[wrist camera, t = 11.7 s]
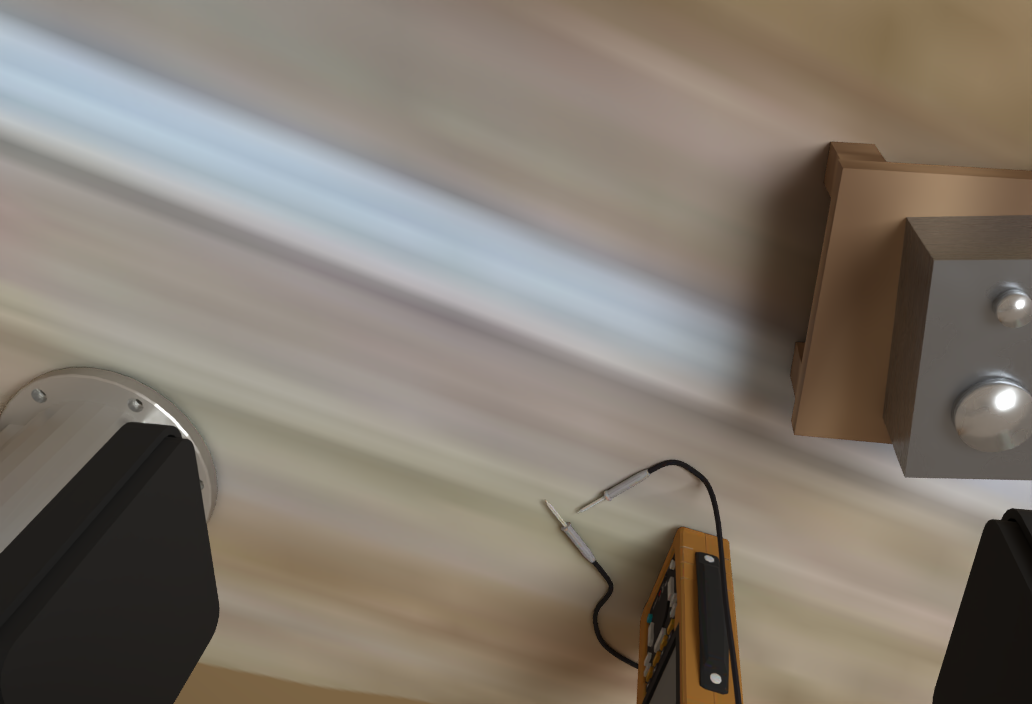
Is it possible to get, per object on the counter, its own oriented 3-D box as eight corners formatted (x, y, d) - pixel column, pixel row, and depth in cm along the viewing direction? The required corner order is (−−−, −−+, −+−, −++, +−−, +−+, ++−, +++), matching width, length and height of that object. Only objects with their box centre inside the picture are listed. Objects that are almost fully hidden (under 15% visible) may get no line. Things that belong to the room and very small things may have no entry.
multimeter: (568, 425, 50) (512, 738, 32) (755, 479, 50) (801, 823, 32) (501, 628, 57) (425, 976, 39) (665, 676, 57) (662, 1047, 39)
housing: (906, 217, 37) (938, 266, 33) (1059, 214, 37) (1113, 265, 32) (882, 417, 41) (908, 486, 37) (1019, 419, 41) (1063, 490, 36)
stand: (782, 380, 47) (794, 434, 42) (824, 134, 41) (843, 168, 37) (1043, 402, 45) (1083, 461, 41) (1123, 151, 40) (1179, 188, 36)
